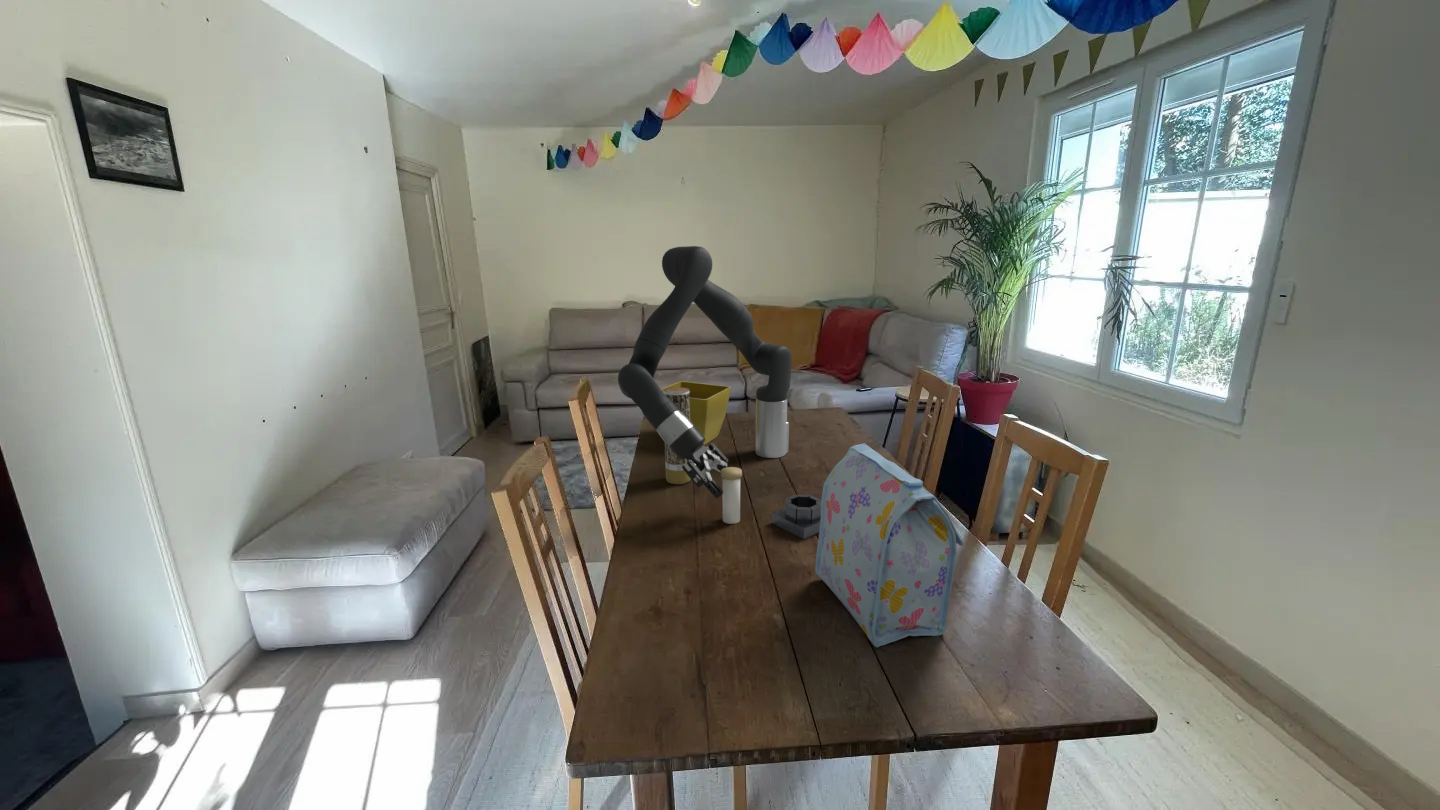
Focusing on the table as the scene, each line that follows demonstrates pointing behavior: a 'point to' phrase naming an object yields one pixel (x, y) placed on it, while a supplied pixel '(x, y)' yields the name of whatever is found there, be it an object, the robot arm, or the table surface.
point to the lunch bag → (886, 548)
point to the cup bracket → (799, 515)
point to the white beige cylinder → (731, 494)
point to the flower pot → (706, 406)
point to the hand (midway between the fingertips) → (727, 488)
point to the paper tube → (672, 461)
